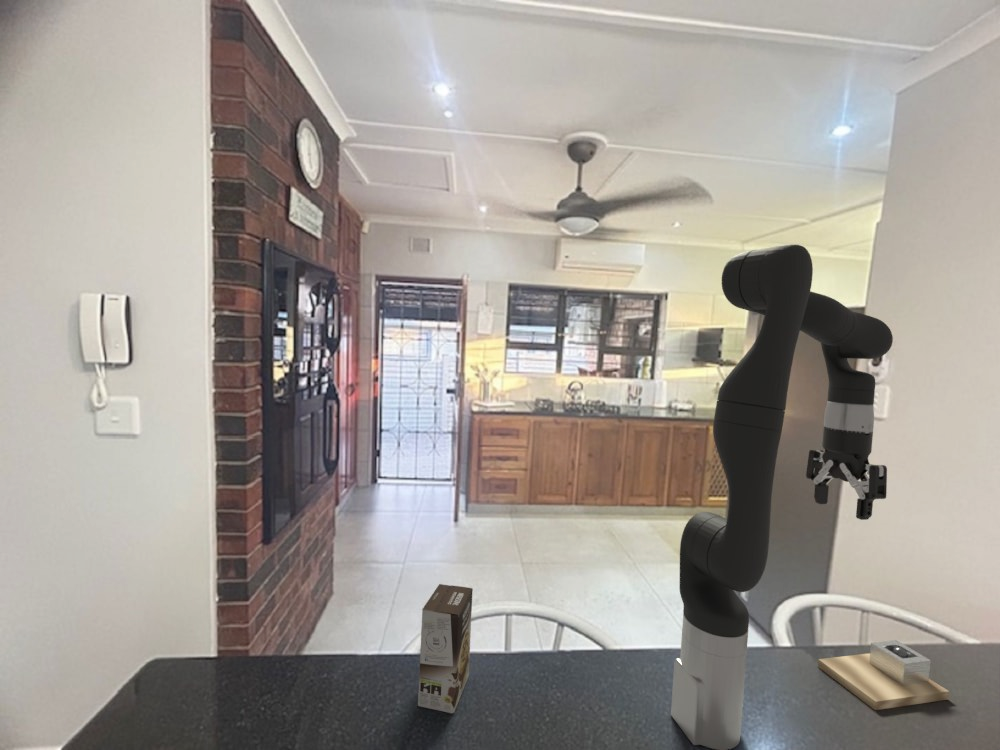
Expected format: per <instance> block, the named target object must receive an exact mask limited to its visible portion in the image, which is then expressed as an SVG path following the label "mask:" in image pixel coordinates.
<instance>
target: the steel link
mask: <svg viewBox="0 0 1000 750" xmlns="http://www.w3.org/2000/svg"><path fill="white" fill-rule="evenodd" d="M895 647H900V648H902V649H904V650H905V651H906V652H907V655H908V658H903V659H902V658H901V657H899V656H898V655H896V654H894V653H893V652H892V650H893V649H894V648H895ZM869 653H870V660H869V663H870V664H871V665H873V666H874V667H876V668H877V669H879V670H880V671H882V672H883V673H885V674H886V675H888V676H889V677H891V678H892V679H894V680H895V681H897V682H898V683H900V684H901V685H909V684H916V683H924V682H929V679H930V674H931V673H930V670H931V664H932V663H931V662H932V660H931V659H929V658H928V657H926V656H924V655H923V654H921V653H919V652H917V651H915V650H914V649H912V648H910V647H909V646H907V645H905V644H903V643H902V642H901V641H898V640H897V639H894V640H885V641H883V640H882V641H877V642H871V643H870V650H869Z"/></svg>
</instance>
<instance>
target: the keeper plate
mask: <svg viewBox="0 0 1000 750" xmlns="http://www.w3.org/2000/svg"><path fill="white" fill-rule="evenodd" d="M892 652H893V653H894V654H896V655H898V656H899V657H901V658H902V659H903V658H908V655H907V652H906V651H905V650H904V649H902V648H900V647H895V648H894V649H893V650H892ZM869 660H870V652H869V653H859V654H854V655H853V654H851V655H844V656H843V655H841V656H836V657H827V658H818V663H817V668H818V669H820V670H821V671H823V672H824V673H826V675H828V676H829V677H831V678H832V679H833V680H834V681H836V682H837V683H839V684H840V685H841V686H842V687H843V688H845V689H847V690H848V691H849V692H851V694H853V695H854V696H856V697H857V698H858V699H860V700H861V701H862V702H864V704H866V705H868V706H869V707H871V709H873V710H874V711H879V710H885V709H895V708H899V707H900V708H901V707H906V706H913V705H919V704H926V703H932V702H940V701H946V700H947V701H948V700H949V696H950V691H949V689H946V688H945V687H943V686H941V685H940V684H938V683H936V682H935V681H934V680H932V679H930V678H929V682H924V683H916V684H909V685H901V684H900V683H898V682H897V681H895V680H894V679H892V678H891V677H889V676H888V675H886V674H885V673H883V672H882V671H880V670H879V669H877V668H876V667H874V666H873V665H871V664H870V663H869Z"/></svg>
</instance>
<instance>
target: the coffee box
mask: <svg viewBox="0 0 1000 750" xmlns="http://www.w3.org/2000/svg"><path fill="white" fill-rule="evenodd" d="M421 610H422V611H421V627H420V628H421V630H420V632H421V634H420V649H419V651H420V654H419V655H420V656H419V675H418V676H419V677H418V695H417V706H418V707H421V708H425V709H430V710H435V711H440V712H444V713H447V714H455V712H456V710H457V706H458V704H459V702H460V700H461V697H462V694H463V692H464V689H465V686H466V684H467V683H468V682H467V681H468V679H469V675H470V657H471V656H470V655H471V654H470V653H471V630H472V610H473V588H472V587H469V586H467V587H466V586H462V585H461V586H460V585H448V584H443V583H439V584H438V585H437V587H436V589H435V590H434V591H433V593H432V594H431V596H430V598H429V599H428V600H427V602H426V603H425V605H424V606H423V607H422V609H421Z"/></svg>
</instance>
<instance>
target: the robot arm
mask: <svg viewBox="0 0 1000 750" xmlns="http://www.w3.org/2000/svg"><path fill="white" fill-rule="evenodd" d="M811 257H812V256H811V254H810V252H809V250H808V249H807V248H806V247H805V246H803V245H800V244H785V245H777V246H773V247H767V248H766V247H765V248H761V249H752V250H747V251H743V252H741V253H738V254H736V255H733V256H732V257H731V258H729V260H728V261H727V262H726V264H725V266H724V267H723V270H722V274H721V288H722V291H723V294H724V296H725V298H726V300H727V301H728V302H729V303H730V304H731V305H732V306H734V307H736V308H738V309H741V310H745V311H750V312H753V313H757V314H759V315H763V317H764V318H763V320H762V324H761V327H760V330H759V332H758V335H757V337H756V339H755V340H754V342H753V343H752V345H751V346H750V348H749V349H748V351H747V352H746V353H745V355H744V356H743V357H742V358H741V359H740V360H739V362H738V363H736V365H735V366H734V368H733V369H732V370H731V371H730V372H729V374H728V375H727V377H725V379H724V380H723V382H722V384H721V386H720V387H719V391H718V393H717V394H718V395H717V398H716V406H715V411H714V416H713V425H712V434H713V440H714V444H715V447H716V451H717V454H718V457H719V459H720V462H721V466H722V468H723V472H724V475H725V477H726V481H727V486H728V487H727V488H728V509H727V517H723V516H722V515H719V514H717V513H715V512H712V511H711V512H710V511H701V512H698V513H695V514H694V515H693V516H691V518H690V519H689V520H688V521H687V523H686V525H685V526H684V529H683V531H682V533H681V534H682V535H681V538H680V544H679V545H680V546H679V595H680V598H681V601H682V604H683V614H682V627H681V628H682V629H681V640H680V641H681V643H680V653H679V655H680V657H676V658H675V659H674V662H673V676H672V677H673V678H672V691H671V693H672V694H671V708H670V710H671V711H670V716H671V717H672V718H673V720H674V721H675V723H676V724H677V725H678V726H679V728H680V729H681V730H682V732H683V733H684V734H685V736H686V737H687V738H688V740H689V741H690V743H692V745H693V746H700V745H701V746H703V747H705V748H708V749H712V750H728V749H729V750H731V749H734V748H735V747H737V746H738V745H739V743H740V741H741V734H742V733H741V732H742V721H743V720H742V719H743V704H744V693H745V692H744V690H745V679H746V678H745V677H746V664H747V663H746V662H747V653H748V652H747V650H748V639H749V626H750V625H749V624H750V614H749V611H748V608H747V605H746V604H745V603H744V602H743V601H742V599H741V598H740V597H739V595H738V594H736V592H738V593H745V592H749V591H750V590H752V589H754V588H755V587H756V586H757V585H758V584H759V582H760V581H761V579H762V577H763V574H764V572H765V570H766V565H767V561H768V555H769V546H770V545H769V544H770V532H771V531H770V530H771V529H770V528H771V527H770V526H771V511H772V493H773V488H774V487H773V486H774V478H775V471H776V463H777V457H778V450H779V446H780V441H781V436H782V430H783V427H784V419H785V414H786V413H785V412H786V409H787V408H786V407H787V398H788V391H789V390H788V389H789V384H790V379H791V377H790V376H791V371H792V366H793V360H794V355H795V350H796V347H797V341H798V339H799V335H800V332H803V333H804V334H805V335H807V336H809V337H810V338H813V339H814V340H816V341H818V342H819V343H820V346H821V351H822V354H823V358H824V361H825V362H824V363H825V367H826V373H827V376H828V377H827V379H828V388H827V389H828V390H827V403H826V407H825V410H824V418H823V419H824V420H823V430H822V432H823V433H822V442H821V443H822V445H821V446H822V448H823V450H822V449H811V450H809V452H808V457H807V465H806V466H807V467H806V473H805V476H806V478H807V479H809V480H811V481H812V482H813V483H814V493H813V495H814V500H815V501H814V502H815V503H816V504H818V505H826V504H827V503H828V500H829V499H828V498H829V488H830V486H829V485H828V484H830V482H831V481H832V480H833V479H839V480H842V482H843V481H844V482H846V483H847V482H848V483H849V485H850V487H852V489H854V490H855V493H856V494H857V496H858V498H857V499H856V501H857V502H856V514H855V517H856V519H859V520H861V521H863V520H865V521H866V520H867V521H868V520H869V519H870V518H871V517H872V515H873V507H874V506H873V505H874V504H873V503H874V501H875V500H885V499H887V490H888V489H887V486H888V485H887V482H888V481H887V480H888V476H887V475H888V468H887V465H885V464H871V463H870V462H869V456H870V455H871V453H872V448H873V437H874V426H875V425H874V424H875V409H874V408H875V407H874V405H875V403H874V402H875V394H876V393H875V392H876V391H875V390H876V379H875V378H876V377H875V376H874V375H873V374H871V373H869V372H865V371H860V370H856V369H853V368H852V367H851V365H850V364H849V362H848V359H856V360H859V359H861V360H863V359H864V360H873V359H874V360H875V359H879V358H881V357H883V356H884V355H886V354H888V352H889V351H890V349H891V347H892V346H893V342H894V341H893V340H894V337H893V333H892V330H891V329H890V327H889V325H888V324H886V323H885V322H884V321H883V320H881V319H878V318H877V317H874V316H870V315H867V314H865V313H860V312H857V311H852V310H851V309H849V308H848V307H847V306H846V305H844V304H842V303H841V301H840V302H839V300H836V299H835V298H832V297H830V296H828V295H825V294H821V293H818V292H815V291H811V289H812V282H813V270H814V269H813V260H812V258H811ZM823 464H824V466H823ZM859 480H860V481H859Z"/></svg>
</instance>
